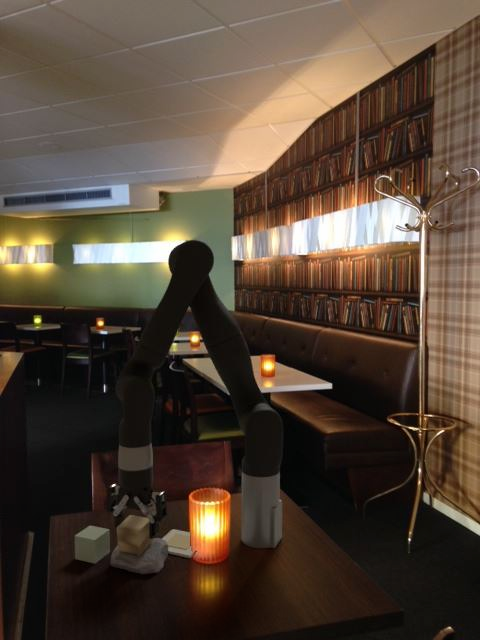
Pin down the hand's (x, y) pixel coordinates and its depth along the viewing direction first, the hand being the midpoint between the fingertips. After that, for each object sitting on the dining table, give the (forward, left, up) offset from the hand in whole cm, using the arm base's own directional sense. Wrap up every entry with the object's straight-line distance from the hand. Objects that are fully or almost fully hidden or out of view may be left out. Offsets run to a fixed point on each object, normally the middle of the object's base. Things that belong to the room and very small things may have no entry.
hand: (136, 534), depth 118 cm
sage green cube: (+11, +1, -6) cm, 13 cm away
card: (-6, -11, -6) cm, 14 cm away
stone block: (-1, 0, -7) cm, 7 cm away
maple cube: (0, 0, -3) cm, 3 cm away
